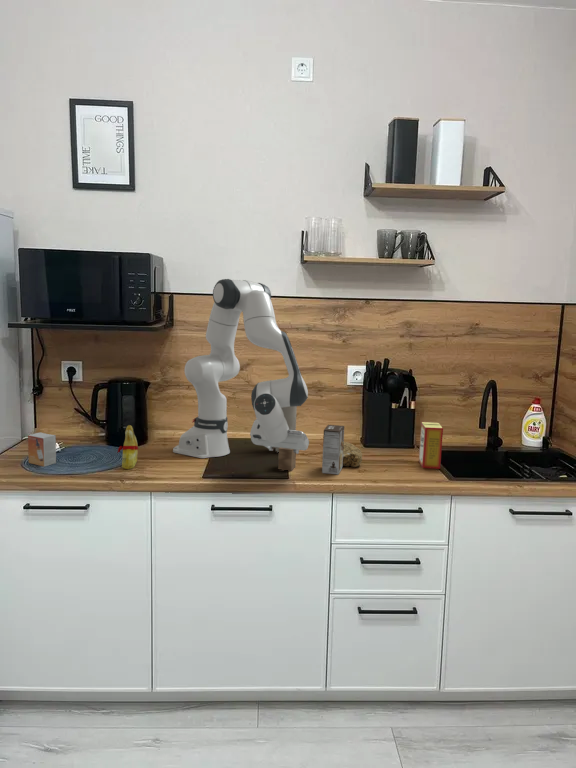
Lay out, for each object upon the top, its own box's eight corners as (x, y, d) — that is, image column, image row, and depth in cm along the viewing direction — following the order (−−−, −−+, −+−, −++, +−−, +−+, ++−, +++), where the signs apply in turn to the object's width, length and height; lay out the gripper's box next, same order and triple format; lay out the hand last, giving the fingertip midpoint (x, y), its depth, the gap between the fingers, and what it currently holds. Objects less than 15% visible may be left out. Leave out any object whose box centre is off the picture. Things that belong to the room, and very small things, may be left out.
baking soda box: (440, 468, 217) (443, 427, 215) (422, 467, 218) (425, 426, 215) (435, 461, 226) (438, 421, 224) (418, 460, 227) (421, 420, 224)
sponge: (364, 471, 215) (360, 446, 234) (362, 453, 213) (357, 429, 231) (329, 476, 217) (327, 451, 235) (326, 457, 214) (325, 433, 232)
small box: (28, 463, 208) (27, 435, 206) (40, 459, 213) (39, 431, 211) (44, 467, 204) (43, 438, 203) (56, 463, 209) (55, 434, 208)
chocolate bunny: (140, 461, 215) (139, 421, 212) (134, 470, 204) (134, 428, 202) (121, 461, 214) (120, 421, 212) (114, 470, 203) (114, 428, 201)
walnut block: (278, 469, 210) (278, 448, 208) (282, 466, 214) (283, 445, 213) (291, 471, 208) (291, 450, 207) (295, 467, 213) (296, 446, 212)
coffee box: (325, 465, 216) (327, 424, 214) (342, 467, 215) (344, 425, 212) (321, 473, 207) (323, 429, 205) (339, 475, 206) (341, 431, 203)
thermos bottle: (272, 451, 233) (273, 383, 228) (280, 447, 240) (282, 380, 235) (289, 454, 229) (292, 385, 225) (298, 450, 236) (300, 382, 232)
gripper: (307, 424, 194) (314, 446, 205) (250, 419, 201) (260, 439, 211) (302, 440, 191) (310, 461, 201) (245, 434, 197) (255, 454, 208)
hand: (284, 450), depth 206 cm, fingers open, 8 cm apart
